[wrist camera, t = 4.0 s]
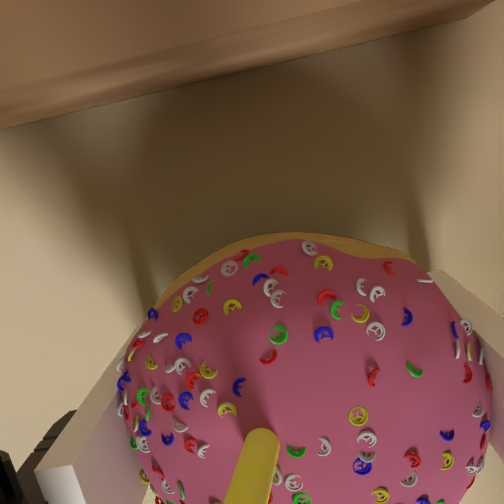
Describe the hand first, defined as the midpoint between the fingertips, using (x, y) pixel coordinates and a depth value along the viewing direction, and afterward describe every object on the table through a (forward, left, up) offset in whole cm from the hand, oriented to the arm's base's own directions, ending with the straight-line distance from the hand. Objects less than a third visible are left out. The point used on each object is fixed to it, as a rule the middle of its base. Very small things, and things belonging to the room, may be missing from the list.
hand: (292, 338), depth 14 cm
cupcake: (0, 0, -1) cm, 1 cm away
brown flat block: (-1, +9, -1) cm, 9 cm away
